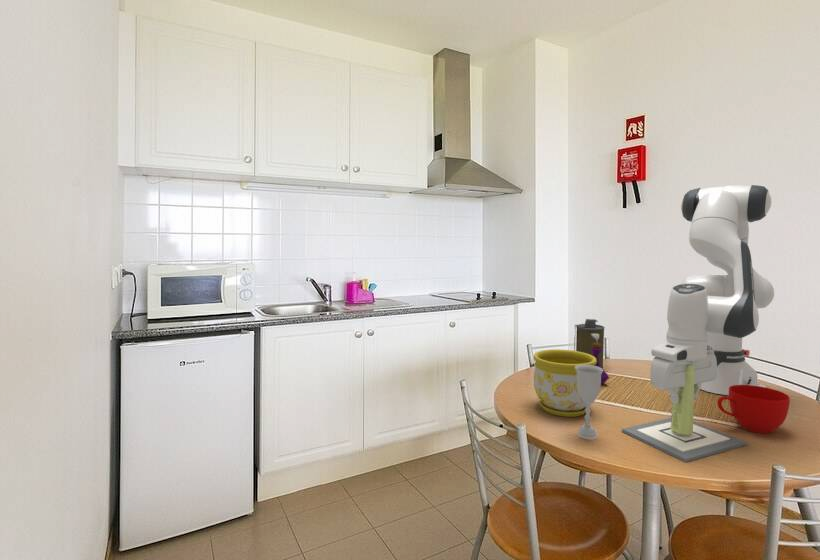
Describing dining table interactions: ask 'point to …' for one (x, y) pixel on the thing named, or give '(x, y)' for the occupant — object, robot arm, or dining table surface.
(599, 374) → the chalice
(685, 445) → the picture frame
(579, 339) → the canister
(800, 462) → the dining table surface
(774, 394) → the ceramic cup
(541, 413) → the dining table surface
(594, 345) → the perfume bottle
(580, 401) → the flowerpot
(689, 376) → the tube
